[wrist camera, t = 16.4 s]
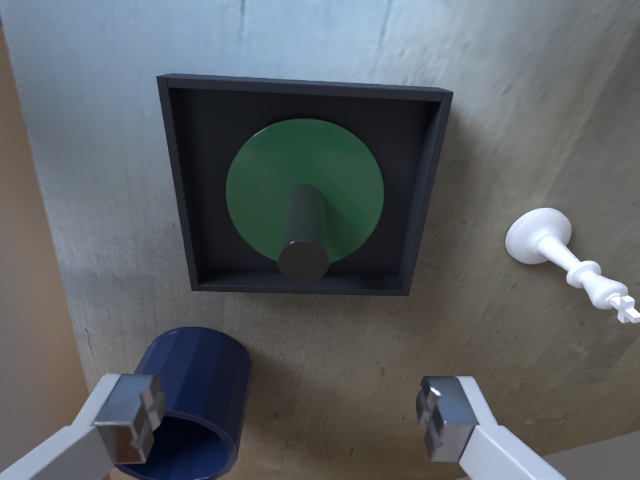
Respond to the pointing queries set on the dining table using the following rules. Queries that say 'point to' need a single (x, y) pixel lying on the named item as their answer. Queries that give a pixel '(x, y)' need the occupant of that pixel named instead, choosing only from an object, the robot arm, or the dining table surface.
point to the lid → (304, 195)
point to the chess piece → (566, 259)
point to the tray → (286, 103)
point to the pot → (195, 405)
